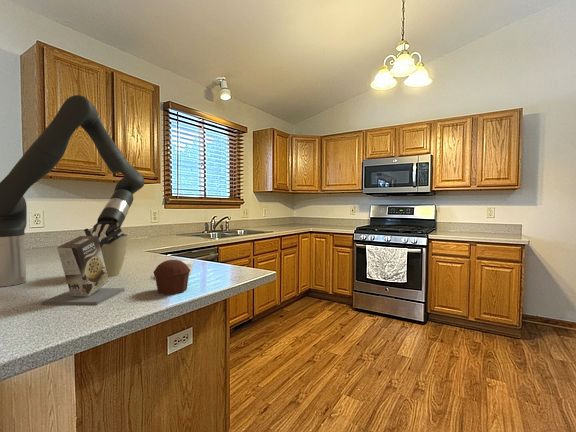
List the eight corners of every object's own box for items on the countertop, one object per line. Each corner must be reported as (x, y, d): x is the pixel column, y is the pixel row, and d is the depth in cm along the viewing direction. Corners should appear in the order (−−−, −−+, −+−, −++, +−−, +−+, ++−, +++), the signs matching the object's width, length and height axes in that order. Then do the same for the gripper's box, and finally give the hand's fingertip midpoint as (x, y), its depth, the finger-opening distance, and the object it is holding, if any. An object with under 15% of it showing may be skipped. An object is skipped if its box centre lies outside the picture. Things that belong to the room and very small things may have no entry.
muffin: (147, 291, 100) (146, 260, 100) (178, 284, 109) (178, 256, 108) (165, 298, 92) (164, 265, 92) (197, 290, 101) (197, 260, 100)
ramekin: (184, 270, 130) (183, 258, 130) (199, 274, 123) (199, 261, 123) (158, 275, 122) (158, 262, 122) (173, 280, 115) (173, 266, 115)
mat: (41, 304, 87) (41, 301, 87) (76, 290, 101) (76, 288, 101) (97, 304, 87) (97, 301, 87) (124, 290, 101) (124, 288, 101)
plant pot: (76, 278, 117) (75, 236, 117) (110, 270, 132) (109, 233, 131) (106, 281, 113) (105, 238, 112) (138, 272, 127) (137, 234, 126)
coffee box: (89, 297, 91) (75, 248, 86) (70, 296, 92) (55, 247, 87) (110, 281, 100) (98, 235, 94) (92, 280, 101) (80, 234, 95)
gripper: (90, 206, 106) (65, 245, 94) (128, 206, 106) (108, 245, 94) (100, 221, 112) (77, 260, 100) (136, 221, 112) (118, 260, 100)
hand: (92, 253), depth 97 cm, fingers closed
